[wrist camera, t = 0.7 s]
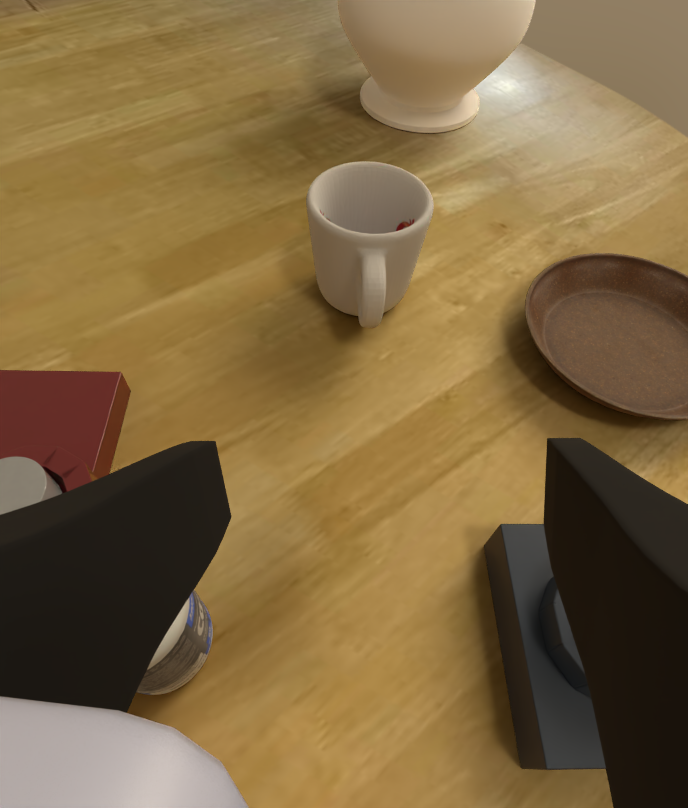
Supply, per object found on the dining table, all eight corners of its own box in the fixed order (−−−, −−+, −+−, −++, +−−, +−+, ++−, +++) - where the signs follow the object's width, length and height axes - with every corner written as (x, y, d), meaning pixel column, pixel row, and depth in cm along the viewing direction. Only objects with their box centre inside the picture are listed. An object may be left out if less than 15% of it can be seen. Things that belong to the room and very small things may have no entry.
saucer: (492, 280, 40) (502, 252, 38) (673, 276, 42) (693, 248, 39) (549, 447, 32) (566, 424, 30) (773, 436, 33) (806, 412, 31)
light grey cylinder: (50, 546, 24) (31, 530, 22) (-31, 546, 24) (-56, 530, 22) (72, 475, 26) (56, 456, 24) (-2, 474, 26) (-24, 455, 24)
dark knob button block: (697, 765, 23) (779, 766, 19) (520, 768, 23) (565, 770, 19) (626, 545, 29) (677, 509, 25) (483, 545, 29) (511, 509, 24)
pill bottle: (234, 641, 25) (202, 596, 18) (149, 720, 23) (79, 704, 16) (176, 569, 27) (128, 504, 20) (94, 638, 25) (8, 592, 18)
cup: (425, 362, 36) (449, 271, 29) (307, 362, 35) (305, 270, 29) (408, 255, 42) (426, 160, 35) (308, 254, 41) (306, 158, 35)
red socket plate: (102, 598, 26) (71, 575, 23) (-90, 599, 26) (-150, 576, 23) (151, 391, 33) (132, 350, 30) (1, 389, 33) (-34, 347, 30)
